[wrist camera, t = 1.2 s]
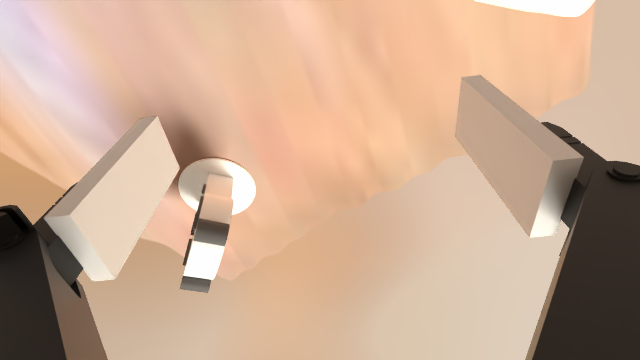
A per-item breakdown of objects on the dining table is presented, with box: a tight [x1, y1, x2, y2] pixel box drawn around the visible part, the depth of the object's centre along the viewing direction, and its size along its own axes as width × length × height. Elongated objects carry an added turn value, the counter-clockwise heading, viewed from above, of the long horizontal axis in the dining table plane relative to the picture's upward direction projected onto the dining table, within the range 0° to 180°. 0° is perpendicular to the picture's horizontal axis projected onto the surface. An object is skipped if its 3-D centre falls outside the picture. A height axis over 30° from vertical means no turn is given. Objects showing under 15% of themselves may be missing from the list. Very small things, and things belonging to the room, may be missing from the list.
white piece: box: [178, 158, 256, 293], centre depth 47 cm, size 12×11×15 cm
